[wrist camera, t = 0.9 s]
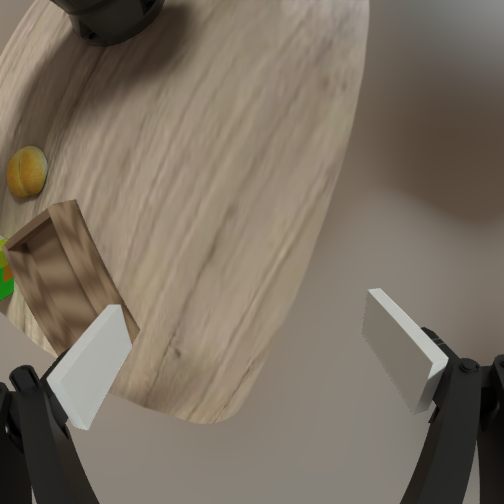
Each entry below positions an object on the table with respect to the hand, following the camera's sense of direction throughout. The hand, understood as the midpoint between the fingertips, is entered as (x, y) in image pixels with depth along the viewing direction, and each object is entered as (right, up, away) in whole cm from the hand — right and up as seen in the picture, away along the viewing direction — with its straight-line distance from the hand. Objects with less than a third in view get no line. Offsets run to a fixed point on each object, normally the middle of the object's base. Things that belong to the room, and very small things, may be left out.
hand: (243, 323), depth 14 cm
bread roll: (-36, +17, +20) cm, 44 cm away
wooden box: (-28, -1, +25) cm, 38 cm away
